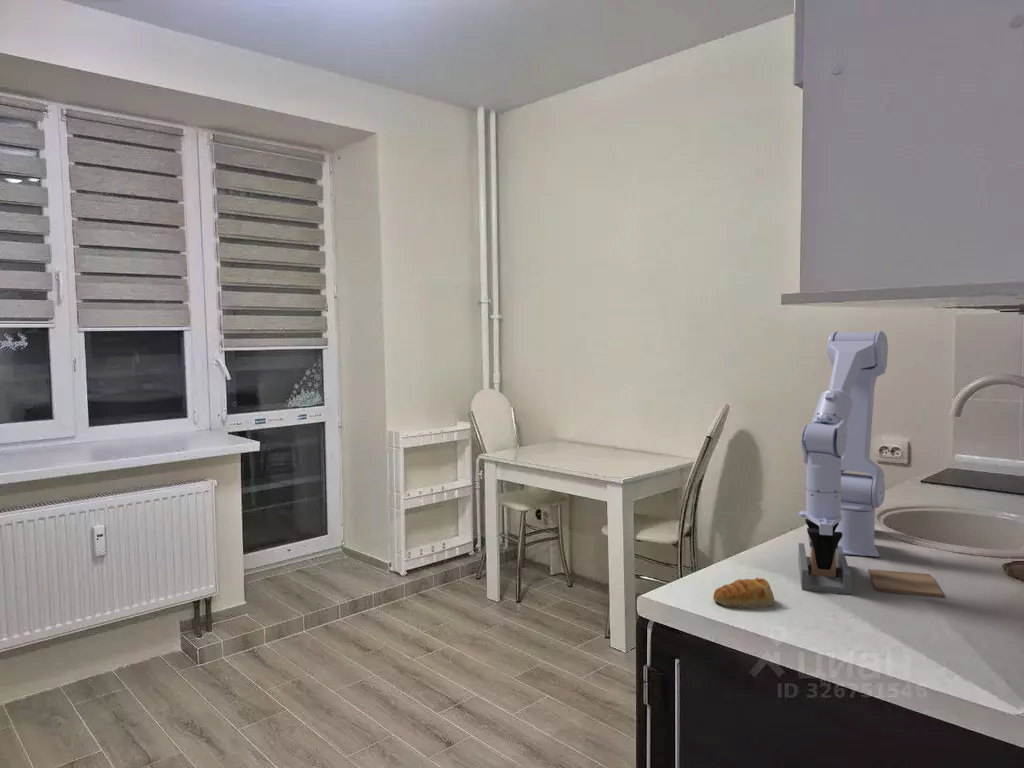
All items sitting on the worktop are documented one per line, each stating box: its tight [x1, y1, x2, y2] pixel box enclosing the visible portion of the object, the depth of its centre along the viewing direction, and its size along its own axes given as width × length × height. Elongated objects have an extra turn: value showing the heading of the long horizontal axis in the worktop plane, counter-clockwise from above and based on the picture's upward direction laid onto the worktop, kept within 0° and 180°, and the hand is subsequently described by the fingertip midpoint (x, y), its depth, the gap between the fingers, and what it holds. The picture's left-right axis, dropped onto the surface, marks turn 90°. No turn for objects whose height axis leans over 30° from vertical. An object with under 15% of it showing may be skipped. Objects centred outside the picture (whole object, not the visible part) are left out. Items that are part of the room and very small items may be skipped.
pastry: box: [712, 577, 776, 609], centre depth 118 cm, size 9×7×4 cm
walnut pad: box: [867, 568, 944, 598], centre depth 124 cm, size 10×10×1 cm
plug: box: [808, 536, 838, 577], centre depth 128 cm, size 5×5×7 cm
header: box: [797, 542, 852, 595], centre depth 128 cm, size 16×8×4 cm, turn 160°
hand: (822, 563), depth 128 cm, fingers open, 5 cm apart
